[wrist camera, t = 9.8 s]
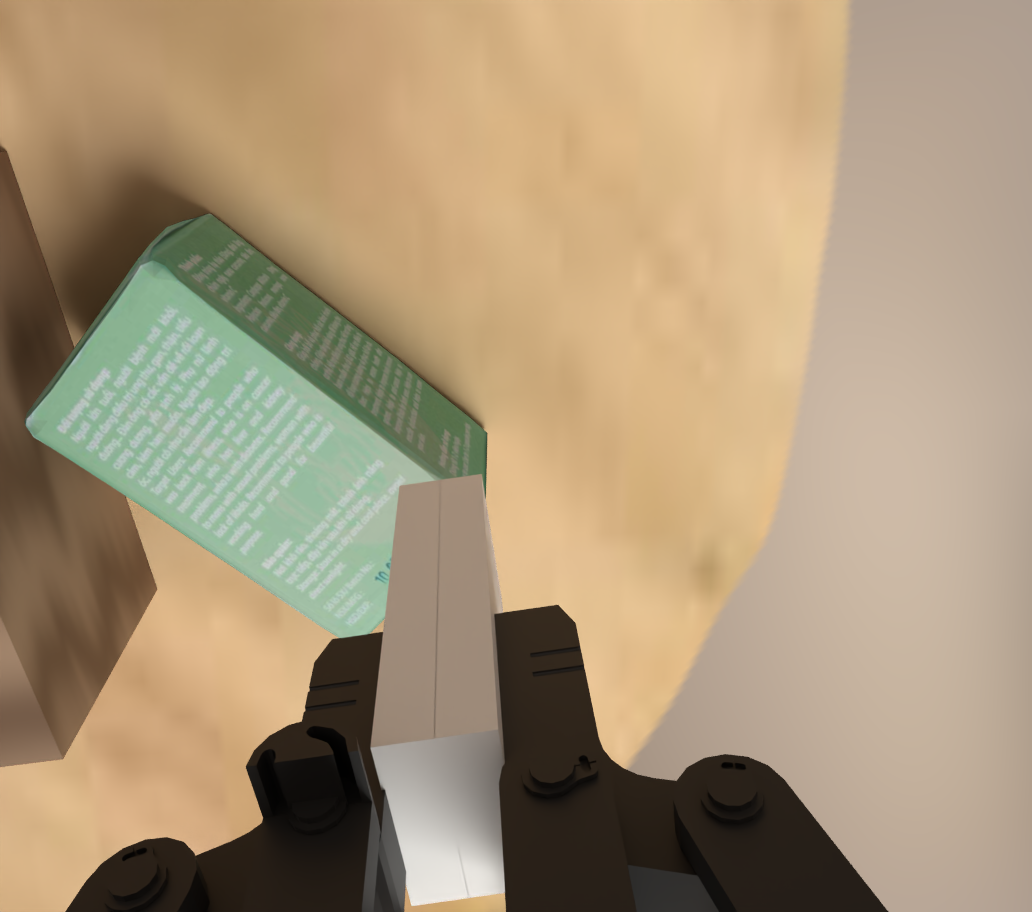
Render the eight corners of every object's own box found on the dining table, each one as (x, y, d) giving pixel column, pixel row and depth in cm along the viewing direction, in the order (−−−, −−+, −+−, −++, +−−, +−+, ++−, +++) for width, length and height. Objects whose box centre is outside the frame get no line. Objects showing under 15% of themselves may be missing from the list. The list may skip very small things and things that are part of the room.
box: (201, 199, 32) (131, 249, 26) (491, 425, 37) (496, 518, 30) (93, 349, 35) (2, 431, 28) (378, 546, 39) (359, 657, 32)
